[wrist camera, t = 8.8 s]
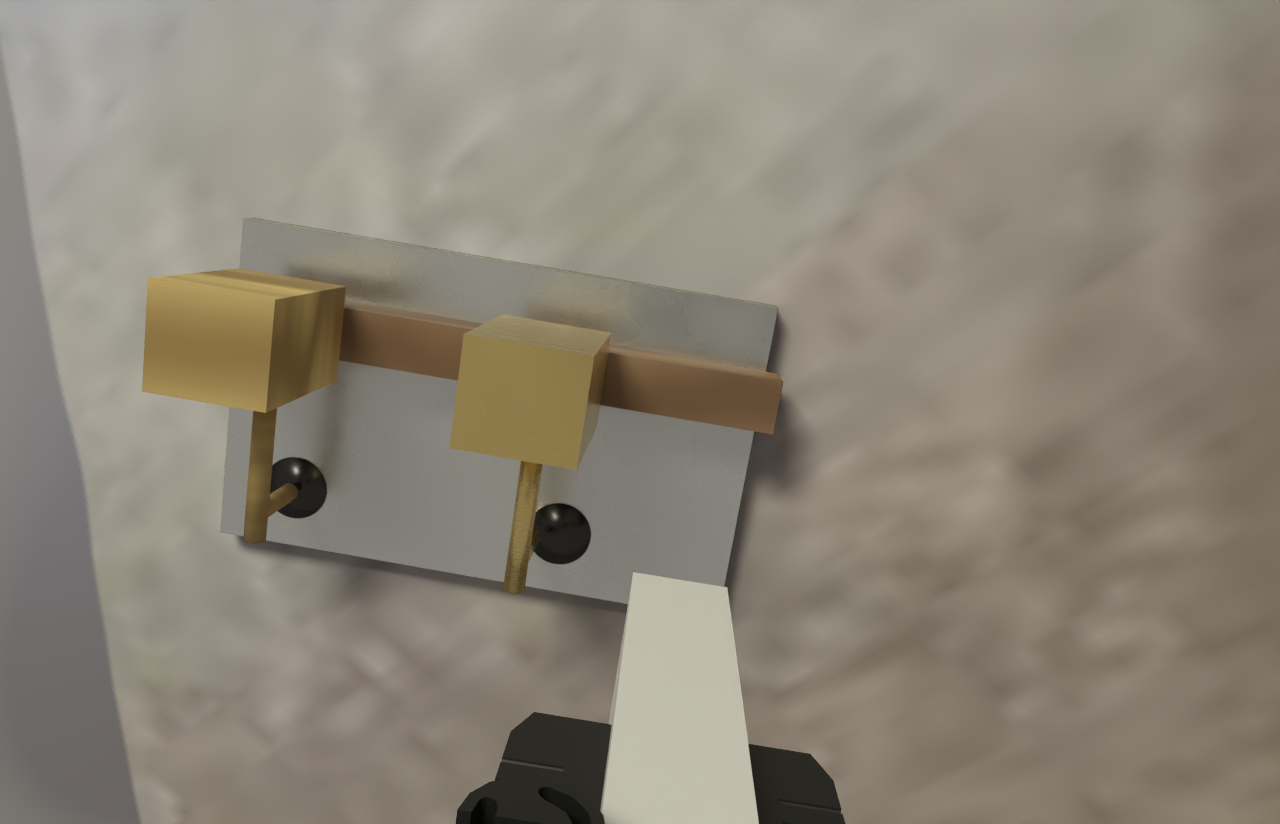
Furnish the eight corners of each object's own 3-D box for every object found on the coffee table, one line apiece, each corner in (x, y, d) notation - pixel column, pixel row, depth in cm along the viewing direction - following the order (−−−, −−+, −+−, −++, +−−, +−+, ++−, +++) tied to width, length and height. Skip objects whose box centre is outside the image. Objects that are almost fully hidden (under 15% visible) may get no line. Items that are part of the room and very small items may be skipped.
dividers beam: (252, 263, 37) (132, 275, 29) (782, 353, 36) (807, 390, 28) (234, 500, 39) (117, 571, 31) (736, 588, 38) (747, 682, 30)
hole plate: (254, 218, 37) (242, 217, 36) (775, 305, 37) (778, 307, 36) (231, 524, 40) (219, 532, 39) (717, 610, 39) (717, 620, 38)
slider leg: (512, 309, 36) (463, 333, 28) (615, 327, 36) (594, 356, 28) (480, 548, 38) (426, 632, 30) (577, 566, 38) (548, 653, 30)
